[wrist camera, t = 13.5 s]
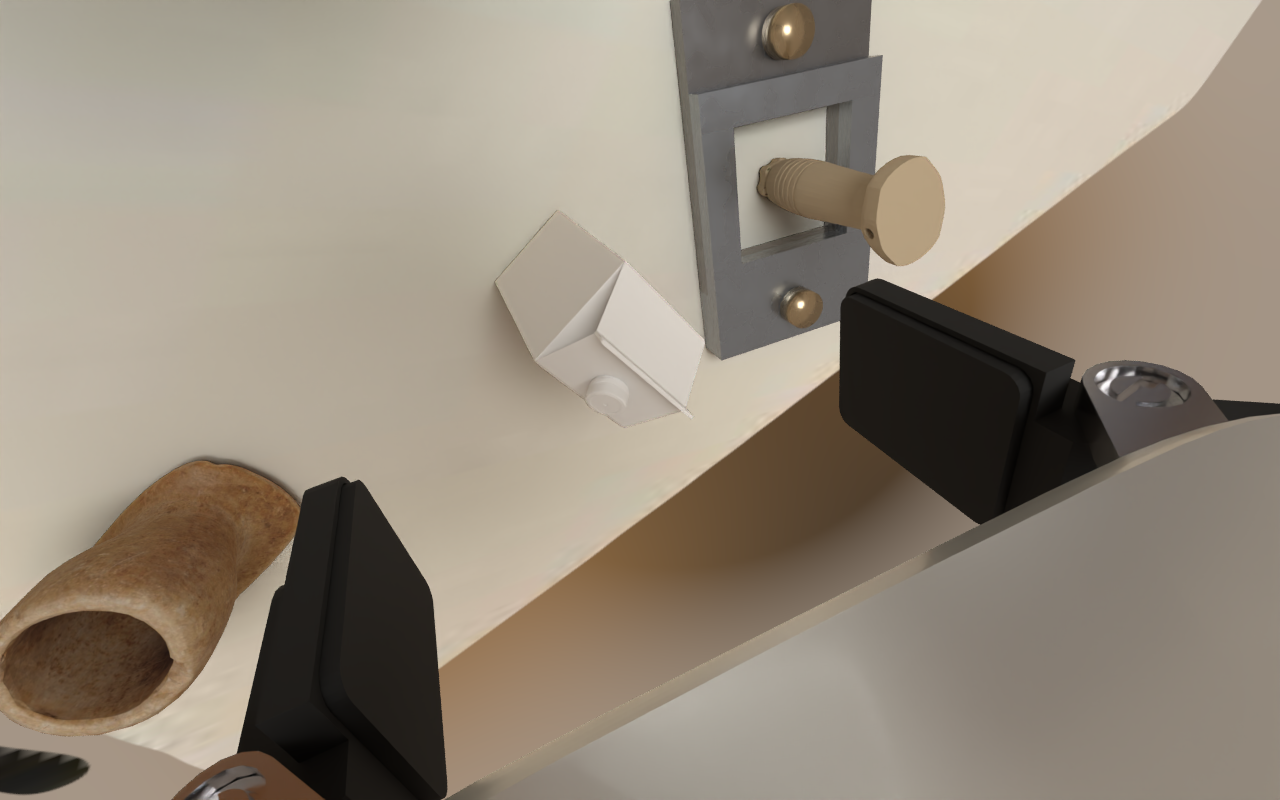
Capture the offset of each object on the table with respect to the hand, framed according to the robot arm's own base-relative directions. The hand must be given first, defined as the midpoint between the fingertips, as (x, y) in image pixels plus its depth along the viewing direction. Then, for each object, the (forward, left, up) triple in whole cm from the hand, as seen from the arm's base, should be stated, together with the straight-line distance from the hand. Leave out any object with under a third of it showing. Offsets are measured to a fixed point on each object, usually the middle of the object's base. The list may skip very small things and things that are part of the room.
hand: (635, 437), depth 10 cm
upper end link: (+8, +24, -33) cm, 42 cm away
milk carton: (+8, +5, -34) cm, 35 cm away
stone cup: (+19, -27, -34) cm, 47 cm away
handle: (+5, +24, -34) cm, 41 cm away
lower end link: (+2, +24, -33) cm, 41 cm away
